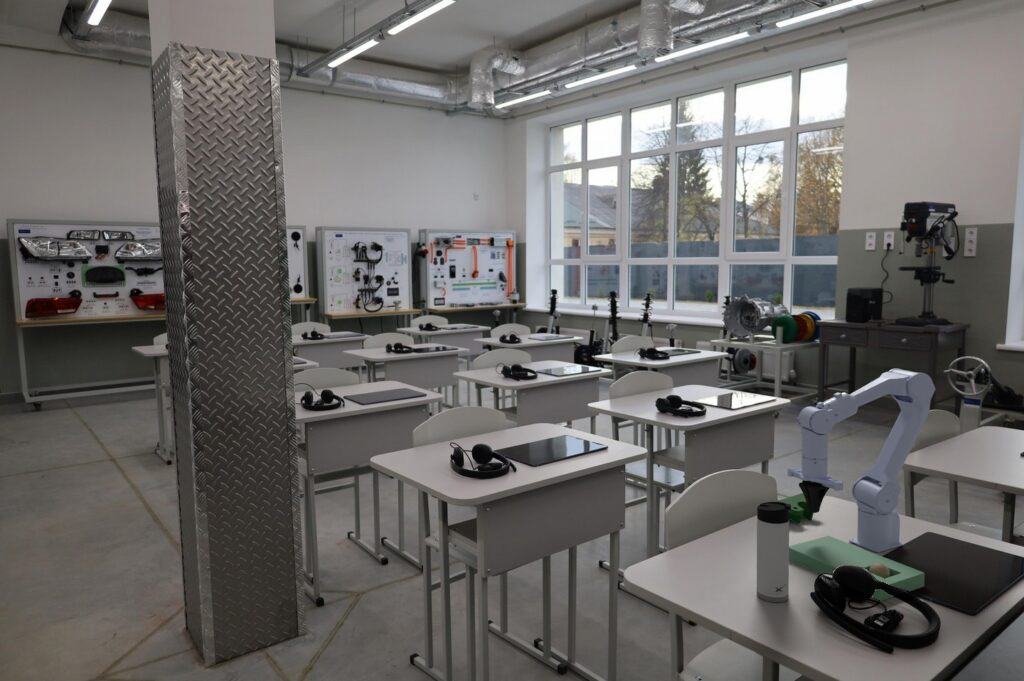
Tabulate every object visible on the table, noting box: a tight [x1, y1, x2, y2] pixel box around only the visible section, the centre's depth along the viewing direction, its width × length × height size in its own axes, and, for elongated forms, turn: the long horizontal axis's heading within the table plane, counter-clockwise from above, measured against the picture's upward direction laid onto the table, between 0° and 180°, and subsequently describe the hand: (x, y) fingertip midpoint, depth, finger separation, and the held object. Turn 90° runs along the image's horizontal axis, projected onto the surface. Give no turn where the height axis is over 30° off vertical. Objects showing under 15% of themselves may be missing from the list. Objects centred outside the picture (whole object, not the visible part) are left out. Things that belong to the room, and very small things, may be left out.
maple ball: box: [869, 563, 890, 579], centre depth 146 cm, size 4×4×4 cm
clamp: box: [776, 492, 814, 525], centre depth 185 cm, size 12×6×9 cm, turn 117°
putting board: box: [789, 535, 926, 602], centre depth 152 cm, size 24×14×3 cm, turn 25°
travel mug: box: [756, 501, 791, 603], centre depth 141 cm, size 6×7×20 cm
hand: (813, 511), depth 164 cm, fingers closed
